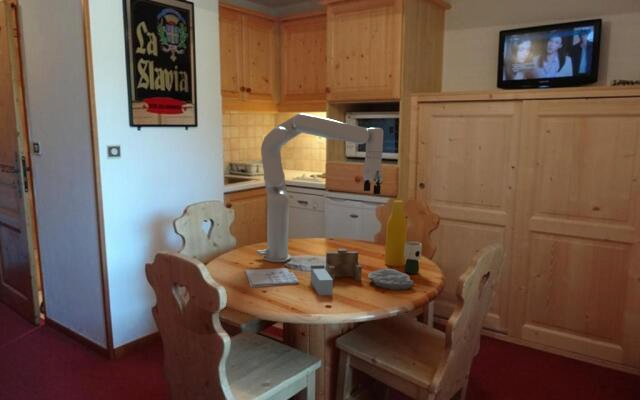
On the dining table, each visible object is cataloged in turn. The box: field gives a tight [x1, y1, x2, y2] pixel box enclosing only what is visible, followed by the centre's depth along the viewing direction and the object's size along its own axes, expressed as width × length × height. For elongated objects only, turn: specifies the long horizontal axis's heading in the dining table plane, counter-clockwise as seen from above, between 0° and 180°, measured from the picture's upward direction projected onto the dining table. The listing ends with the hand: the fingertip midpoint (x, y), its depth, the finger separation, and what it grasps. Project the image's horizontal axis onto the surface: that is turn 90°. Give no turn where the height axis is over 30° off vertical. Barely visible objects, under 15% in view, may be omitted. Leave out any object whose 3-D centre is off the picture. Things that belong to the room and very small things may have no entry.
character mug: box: [403, 241, 423, 275], centre depth 201 cm, size 11×7×13 cm, turn 145°
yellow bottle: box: [384, 199, 408, 268], centre depth 212 cm, size 9×9×29 cm
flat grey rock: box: [367, 268, 415, 291], centre depth 188 cm, size 20×17×3 cm
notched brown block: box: [325, 248, 363, 283], centre depth 192 cm, size 13×9×11 cm, turn 100°
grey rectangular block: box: [310, 263, 334, 296], centre depth 181 cm, size 5×16×7 cm, turn 12°
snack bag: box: [244, 267, 300, 288], centre depth 191 cm, size 19×20×2 cm
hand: (371, 192), depth 218 cm, fingers open, 9 cm apart
